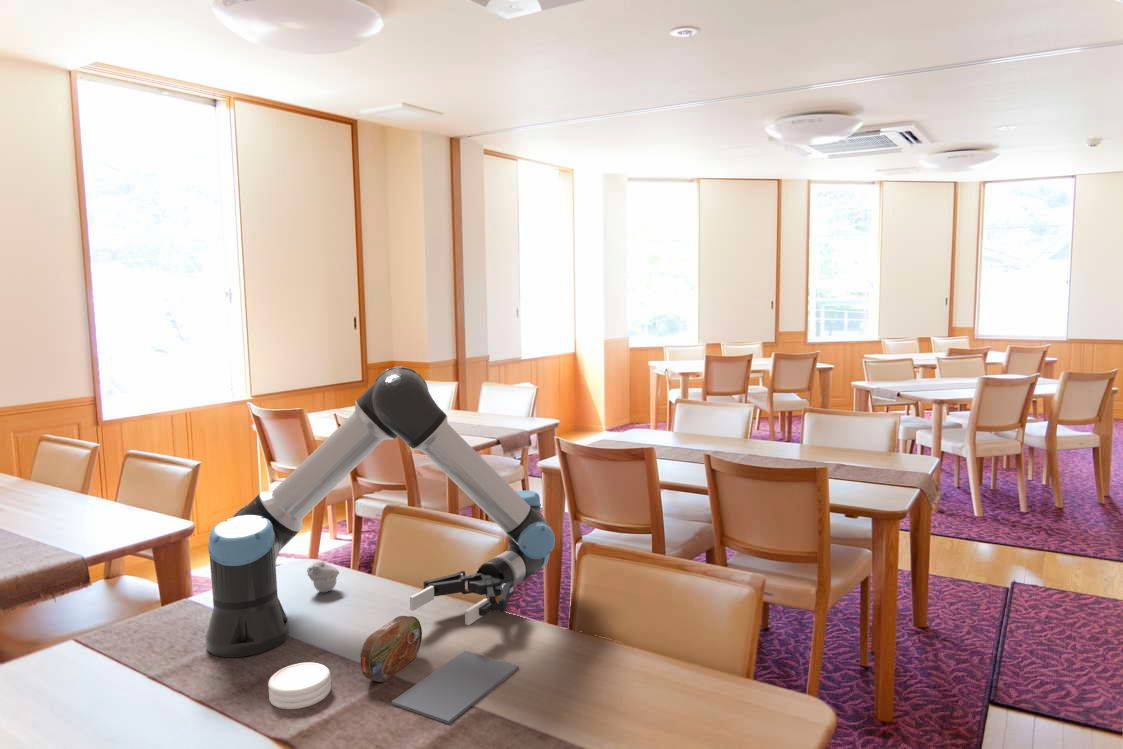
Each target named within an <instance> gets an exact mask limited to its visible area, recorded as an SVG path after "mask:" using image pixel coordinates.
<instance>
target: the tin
mask: <svg viewBox="0 0 1123 749" xmlns="http://www.w3.org/2000/svg"><path fill="white" fill-rule="evenodd" d="M422 639H423V629H422V625H421V623H420V620H419V619H418V618H417V617H416V616H413V615H412V616H411V615H409V616H408V615H399V616H397V617H395V618H393V619H392V620H391V621H389V622H387V623H386V624H385V625H383V626H382V627H380V628H379V629H377V630H375V631H373V633H371V634H370V635H368V637H367V638H366V639H365V641H364V643H363V646H362V648H361V652H360V654H359V655H360V669H361V673H362V675H363V677H365V678H366V680H367V679H368V680H371V681H375V682H378V683H385V682H386V681H387V680H389V679H390V678H391V677H393V676H394V675H396V674H397V673H398V672H400V671H401V670H402V669H403V668H404V667H406V666H407V665H409V664H410V663H411V662H413V660H414V659H415V658H416V657H417V654H418V653H419V651H420V649H421V645H422Z"/></svg>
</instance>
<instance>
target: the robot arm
mask: <svg viewBox="0 0 1123 749" xmlns="http://www.w3.org/2000/svg"><path fill="white" fill-rule="evenodd" d="M397 437H399V439H401V440H402V441H403V442H404V443H405V444H407V445H408V446H409V447H410V448H411V449H412V450H414V451H416V450H417V451H418V450H419V451H421V452H422V453H423V454H424V455H425V456H426V457H427V458H429V460H430V461H431V462H433V463H434V464H435V465H436V466H437V467H438V469H440V470H441V471H442V472H443V474H445V475H446V476H447V477H448V478H449V479H450V480H451V481H452V482H453V484H455V485H456V486H457V487H458V488H460V490H461V491H462V492H463V493H464V494H465V495H466V496H468V497H469V499H471V500H472V501H473V503H475V504H476V505H477V507H479V508H480V509H481V511H483V512H484V513H485V514H486V515H487V516H488V517H489V518H490V519H491V520H492V521H493V522H494V523H495V524H496V525H497V526H498V527H499V528H500V529H502V530H503V531H504V532H505V534H506V535H507V550H506V551H503V552H502V553H500V554H498V555H496V556H494V557H493V558H491V559H489V560H488V561H486V562H484V563H482V564H481V565H480V566H479V568H478V569H477V571H476V573H472V574H470V575H466V571H465V570H461V571H458V572H456V573H452V574H448V575H445V576H440V577H436V578H433V579H428V580H424V581H423V589H422V590H420V591H418V592H416V593H415V594H413V595H411V596H409V606H410V611H412V612H413V611H414V612H415V611H416V610H417V609H419V608H421V607H423V606H425V605H427V604H428V603H429V602H431V601H433V600H435V597H441V596H446V595H454V594H460V593H461V594H463V595H467V594H475V595H476V594H477V595H479V596H482V595H485V596H486V598H483V599H482V600H480V601H478V602H476V603H475V604H474V605H472V606H470V607H469V608H467V609H466V610H464V622H465V625H467V626H470V625H471V624H473V623H474V622H476V621H477V620H479V619H480V618H482V617H485V616H486V615H489V614H490V613H495V612H496V611H498V612H499V614H500V613H502V614H504V613H505V612H506V610H507V606H508V604H509V601H510V598H511V597H512V596H513V595H514V594H515V593H514V586H516V585H518V584H519V583H521V582H523V581H525V580H526V579H528V578H530V577H532V576H533V575H535V574H537V573H538V572H540V571H541V569H543V568H544V567H545V566H546V565H547V564H548V562H549V559H550V554H551V553H552V551H553V550H554V548H555V545H556V544H555V543H556V538H555V537H556V536H555V534H554V533H555V532H554V531H553V528H552V527H551V526H550V525H549V523H548V522H547V520H546V519H545V517H544V516H543V515H542V512H541V505H542V504H541V500H540V498H541V497H540V494H539V493H538V492H536V491H532V490H516V491H515V489H514V488H513V487H512V486H511V485H510V484H509V483H508V482H507V481H506V480H505V479H503V478H504V477H502V476H501V475H499V474H500V473H499V474H498V472H497V471H496V470H495V469H494V468H493V467H492V466H491V465H490V463H488V462H487V461H486V460H485V459H484V458H483V457H482V456H481V455H480V454H479V453H478V452H477V451H476V450H475V449H474V448H473V447H472V446H471V445H470V444H469V443H468V442H467V441H466V440H465V439H464V438H463V437H462V436H461V435H460V434H459V433H458V432H457V431H456V430H455V429H454V428H453V427H452V426H451V424H449V423H448V415H447V413H445V412H444V411H443V410H442V409H441V407H440V406H439V405H438V404H437V402H435V399H434V398H433V397H432V395H431V393H430V392H429V387H428V384H427V382H426V380H425V379H424V378H423V377H422V375H421V374H419V373H418V372H417V371H416V370H415V369H414V370H413V369H412V368H410V367H406V366H394V367H390V368H387V369H385V370H383V372H381V373H380V374H379V375H378V376H377V377H376V379H375V381H374V383H373V384H372V385H371V386H369V387H368V389H367V390H366V391H364V392H363V393H362V394H361V395H360V396H359V397H358V398H357V399H356V400H355V403H354V412H353V413H351V415H350V416H349V417H348V418H347V419H346V420H345V421H344V422H342V423H341V425H340V426H338V427H337V429H335V430H334V431H333V432H332V433H331V434H330V436H328V437H327V438H326V439H325V440H324V441H323V442H322V443H321V444H320V445H319V446H318V447H317V448H315V449H314V451H313V452H312V453H311V454H310V455H308V456H307V458H306V459H305V460H303V461H302V462H301V463H300V464H299V465H298V466H297V467H296V468H295V469H294V470H293V471H292V472H291V473H290V474H289V475H288V476H286V478H285V479H283V480H282V481H281V482H280V484H279V485H278V486H277V487H275V488H274V489H273V490H262V491H261V492H260V493H259V494H258V495H256V497H255V498H253V500H251V502H249V503H248V504H247V505H244V506H243V507H241V508H240V509H239V510H237V511H236V513H235V514H234V515H233V516H232V517H231V518H230V517H229V518H227V519H226V520H225V521H220V522H219V523H218V524H216V525H215V526H213V528H212V529H211V530H210V532H209V536H208V544H207V549H208V555H209V563H210V564H209V565H210V576H211V577H210V578H211V591H212V604H213V607H212V612H211V615H210V619H209V624H208V628H207V631H206V634H205V645H206V650H207V651H208V652H209V653H210V654H212V655H214V656H217V657H220V658H221V657H222V658H242V657H249V656H254V655H258V654H262V653H264V652H268V651H269V650H272V649H274V648H276V647H278V646H280V645H281V644H283V643H284V642H285V641H286V640H287V639H288V638H289V635H290V624H289V622H290V621H289V619H288V616H287V615H286V612H285V610H284V608H283V606H282V603H281V601H280V599H279V596H278V582H277V579H278V578H277V566H276V565H277V559H278V556H279V554H280V552H281V551H282V549H284V548H285V547H286V545H287V544H289V543H290V542H291V541H292V540H293V538H294V537H296V536H297V535H298V533H300V532H301V530H303V519H304V518H305V517H306V516H307V515H308V514H309V513H310V512H311V511H312V510H313V509H314V508H315V507H316V506H317V505H318V504H319V503H320V502H321V501H322V500H323V499H324V498H326V497H327V496H328V494H330V493H331V492H332V490H334V488H336V487H337V486H338V485H339V484H340V483H341V482H343V480H344V479H346V477H347V476H348V475H349V474H350V473H351V472H352V471H353V470H354V469H355V468H357V467H358V465H359V464H360V463H361V462H362V461H364V460H365V459H366V458H367V457H368V456H369V455H370V454H371V453H372V452H373V451H374V450H375V449H376V447H378V446H379V445H380V444H381V443H382V442H383V441H387V440H388V441H389V440H391V441H393V440H395V439H397ZM509 545H510V548H509ZM466 583H467V588H466ZM496 597H498V600H496Z"/></svg>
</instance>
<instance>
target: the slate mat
mask: <svg viewBox="0 0 1123 749" xmlns="http://www.w3.org/2000/svg"><path fill="white" fill-rule="evenodd" d="M517 670H519V665H518V664H513V663H511V662H507V661H504V660H500V659H497V658H493V657H490V656H486V655H483V654H479V653H476V652H471V651H468V650H464V651H462V652H461V653H459V654H458V655H456V656H455V657H453V658H452V659H451V660H449V661H448V662H446V663H445V664H443V665H442V666H440V667H439V668H437V669H436V670H435V671H433V672H432V673H430V674H428V676H426V677H425V678H423V679H421V680H420V681H419V682H417V683H416V684H414V685H413V686H411V687H410V688H408V689H406V690H405V691H404V692H402V693H401V694H400V695H399V696H397V697H395V698H394V699H393V700H391V705H392V706H396V707H398V708H401V709H404V710H408V711H410V712H412V713H416V714H419V715H422V716H424V717H427V718H431V719H433V720H436V721H439V722H441V723H445V724H448V725H450V724H451V723H452V722H453V721H454V720H456V719H457V718H458V717H460V716H461V715H462V714H463V713H465V712H466V711H467V710H468V709H470V708H471V707H472V706H473V705H475V704H476V703H477V702H478V701H479V700H481V699H483V697H485V696H486V695H487V694H488V693H490V692H491V691H493V689H495V688H496V687H497V686H498V685H500V684H501V683H502V682H503V681H505V680H506V679H507V678H509V677H510V676H511V675H512V674H513V673H515V672H516V671H517Z"/></svg>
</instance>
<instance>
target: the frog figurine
mask: <svg viewBox="0 0 1123 749" xmlns="http://www.w3.org/2000/svg"><path fill="white" fill-rule="evenodd" d="M306 572H307V576H308V577H309V579H310V580H311V582H312V583H313V587H314V588H315V589H316V590H317V592H319V593H320V592H321V593H329V592H330V591H332V590H333V589H334V588H335V587H336V585H337V578H338V575H339V574H340V571H339V570H338V568H336V567H334V566H333V565H331V564H329V563H326V562H325V561H321V560H317V561H316V562H314V563H313V564H312V565H310V566H309V567H307V568H306ZM328 591H329V592H328Z"/></svg>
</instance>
